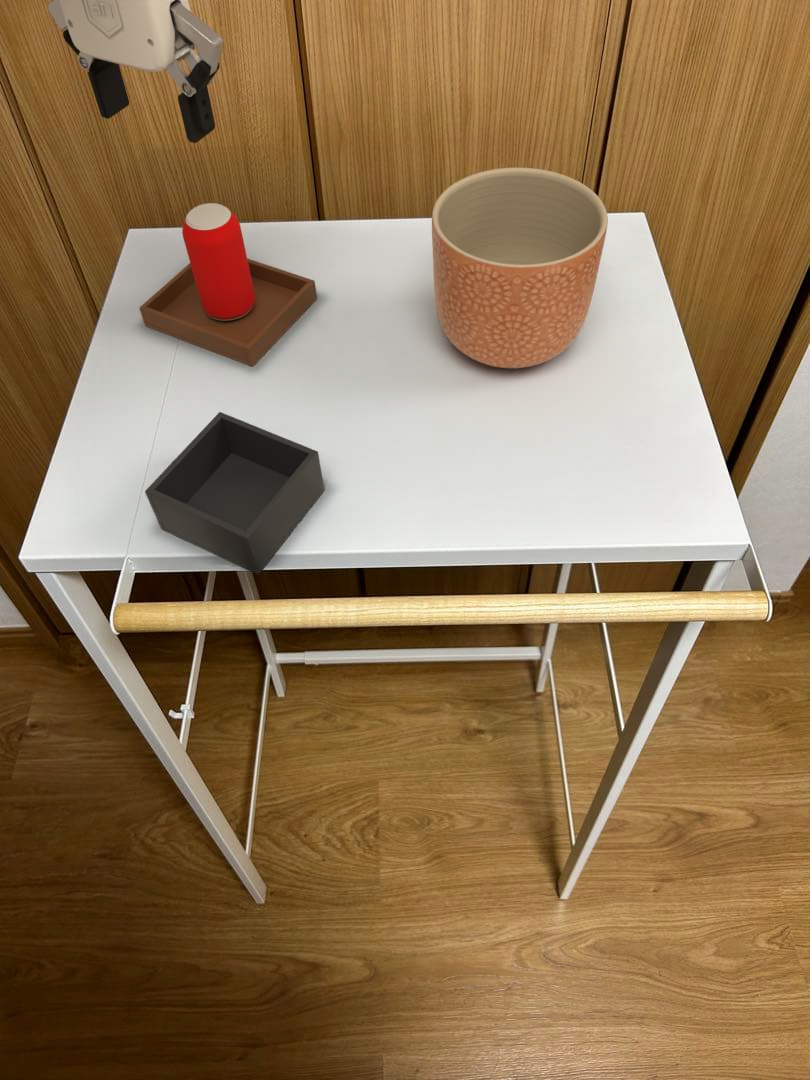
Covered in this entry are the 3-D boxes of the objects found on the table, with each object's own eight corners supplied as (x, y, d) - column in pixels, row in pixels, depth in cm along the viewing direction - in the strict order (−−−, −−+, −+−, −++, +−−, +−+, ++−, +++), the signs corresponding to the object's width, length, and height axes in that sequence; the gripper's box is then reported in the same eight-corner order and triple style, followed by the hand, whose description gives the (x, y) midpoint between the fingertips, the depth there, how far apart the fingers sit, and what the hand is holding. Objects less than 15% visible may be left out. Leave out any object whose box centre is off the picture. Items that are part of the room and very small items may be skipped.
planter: (582, 291, 97) (603, 167, 85) (589, 393, 87) (613, 269, 75) (437, 287, 99) (437, 165, 86) (427, 387, 89) (425, 264, 76)
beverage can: (195, 321, 95) (168, 227, 86) (217, 288, 99) (193, 194, 89) (244, 329, 94) (222, 235, 85) (265, 296, 98) (246, 202, 88)
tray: (145, 326, 96) (138, 307, 94) (213, 264, 103) (209, 245, 101) (252, 366, 91) (248, 348, 89) (317, 299, 98) (314, 280, 96)
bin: (161, 529, 78) (144, 491, 74) (231, 451, 84) (219, 411, 79) (258, 575, 75) (247, 538, 70) (324, 490, 81) (318, 451, 76)
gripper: (-28, -113, 61) (56, 121, 75) (158, -79, 56) (211, 166, 69) (44, -142, 65) (111, 85, 79) (224, -113, 60) (262, 125, 73)
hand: (158, 123), depth 74 cm, fingers open, 9 cm apart
